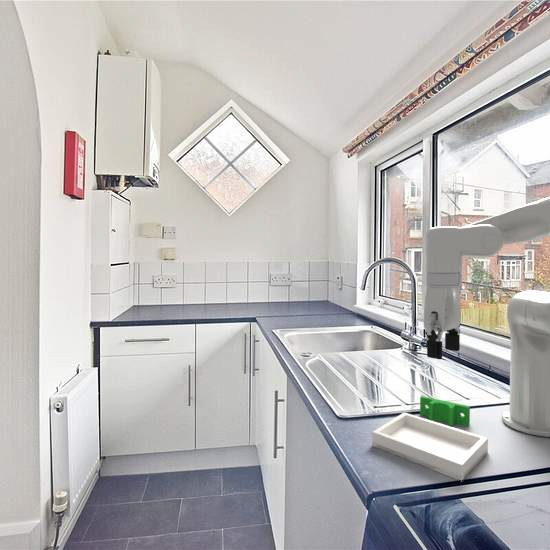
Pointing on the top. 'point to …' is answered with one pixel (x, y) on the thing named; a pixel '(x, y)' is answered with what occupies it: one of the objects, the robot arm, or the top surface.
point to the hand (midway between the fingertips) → (443, 354)
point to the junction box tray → (431, 444)
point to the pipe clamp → (445, 411)
